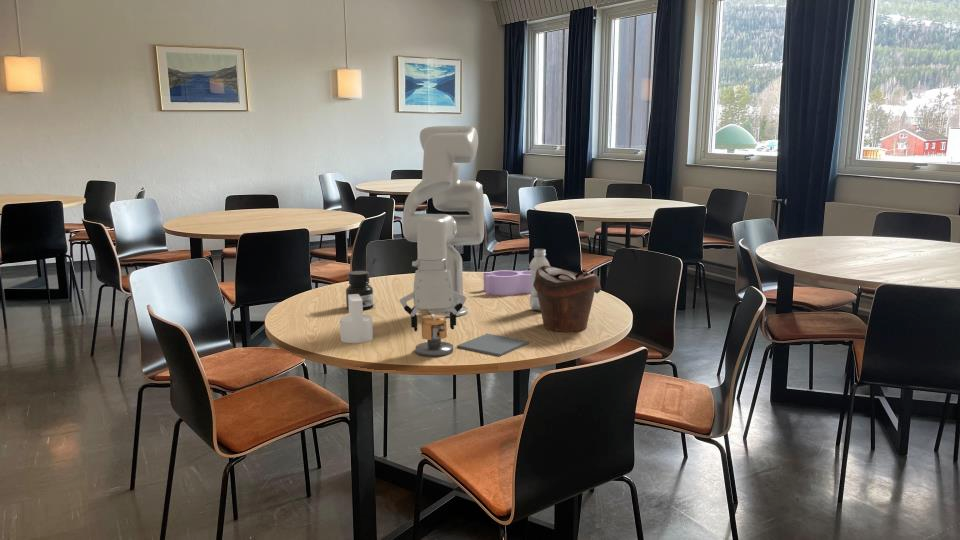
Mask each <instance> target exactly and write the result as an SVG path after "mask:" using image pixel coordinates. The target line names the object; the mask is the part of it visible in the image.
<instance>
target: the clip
mask: <svg viewBox="0 0 960 540" xmlns="http://www.w3.org/2000/svg"><path fill="white" fill-rule="evenodd" d="M531 283H532V282H531V274H530V270H509V269H508V270H507V269H506V270H504V269H503V270H493V271H489V272H487V271H483V291H485V295H489V296H490V295H496V296H515V295H519V294H531Z"/></svg>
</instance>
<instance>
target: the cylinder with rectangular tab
mask: <svg viewBox="0 0 960 540" xmlns="http://www.w3.org/2000/svg"><path fill="white" fill-rule="evenodd" d="M348 304H349V309H348V315H344V316H341V317H340V318H339V330H340V331H339V332H340V341H341V342H342V343H347V344H362V343H367V342H370V341H372V340H373V339H374V335H373V334H374V333H373V332H374V331H373V317H372V316H371V315H369V314H364V310H363V304H362V299H361V297H360V295H359V294H350V295H348Z"/></svg>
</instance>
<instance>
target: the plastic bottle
mask: <svg viewBox="0 0 960 540" xmlns="http://www.w3.org/2000/svg"><path fill="white" fill-rule="evenodd" d="M546 251H547V250H546V249H545V248H534V250H533V256H534V257H533V258H532V259H531V261H530V263H529V271H530V274H531V282H532V283H531V293H530V297H529V305H530V306H529V307H530V308H531V310H534V311H539V312H541V309H540V304H539V299H538V295H537V291H536V290H535V288H534V286H533V283H534V280H535V276H536V271H537V269H538V268H539V267H540V266H543V265H546V266H551V264H550V262H549V260H548V259H547V257H546V256H547V253H546Z"/></svg>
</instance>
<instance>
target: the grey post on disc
mask: <svg viewBox="0 0 960 540" xmlns="http://www.w3.org/2000/svg"><path fill="white" fill-rule="evenodd" d="M442 329H444V325H441V324H440V325H431V337H432V340H427V339H426V341H425V342H422V343H419V344H417V345H416V346H415V353H416V355H419V356H422V357H426V358H427V357H428V358H438V357H445V356H448V355H450V354H451V355H452V354H453V352H454V344H452V343H449V342H447V341H446V342H445V341H442V339H440V334H439V331H441V330H442Z"/></svg>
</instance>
